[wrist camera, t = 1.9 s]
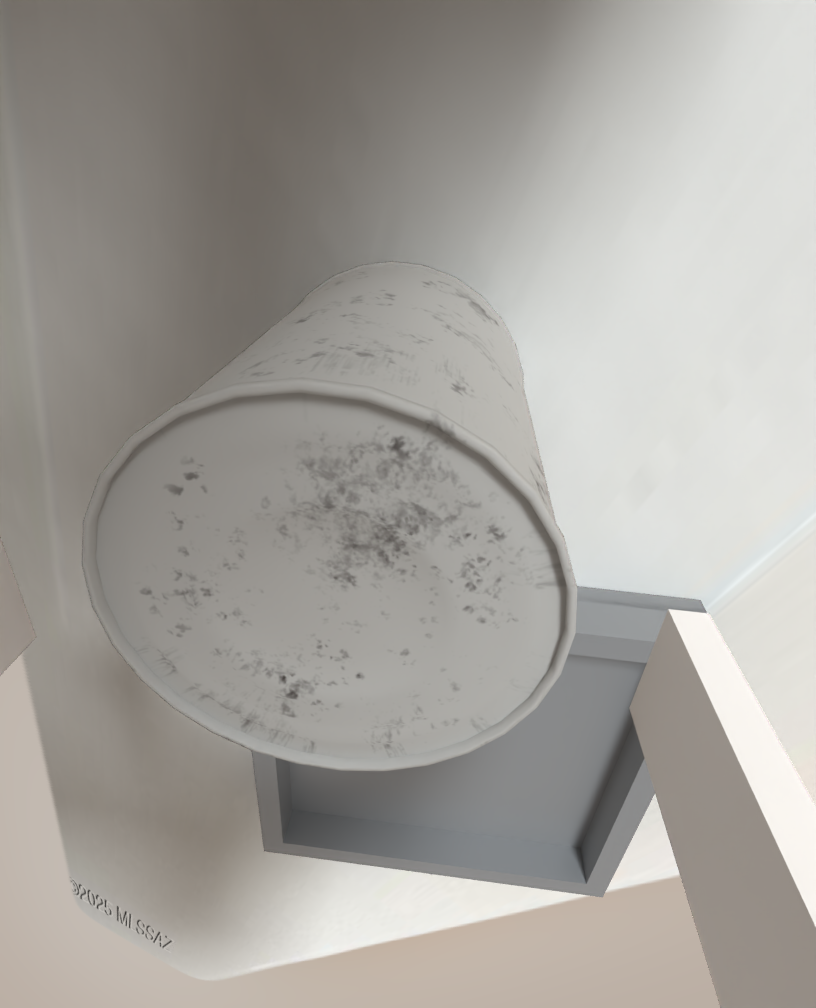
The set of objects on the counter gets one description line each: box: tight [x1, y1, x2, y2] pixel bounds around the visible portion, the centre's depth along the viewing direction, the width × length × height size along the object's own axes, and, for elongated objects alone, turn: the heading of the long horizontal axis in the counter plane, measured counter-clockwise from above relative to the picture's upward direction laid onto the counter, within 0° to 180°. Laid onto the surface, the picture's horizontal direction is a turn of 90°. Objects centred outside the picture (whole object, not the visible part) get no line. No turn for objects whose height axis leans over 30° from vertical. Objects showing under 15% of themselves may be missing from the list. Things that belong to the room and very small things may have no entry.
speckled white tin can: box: [82, 261, 577, 771], centre depth 16 cm, size 10×10×12 cm
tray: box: [252, 587, 707, 897], centre depth 29 cm, size 20×20×3 cm
